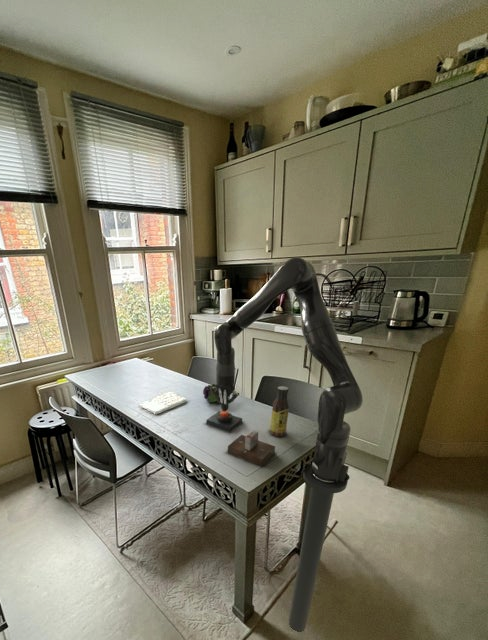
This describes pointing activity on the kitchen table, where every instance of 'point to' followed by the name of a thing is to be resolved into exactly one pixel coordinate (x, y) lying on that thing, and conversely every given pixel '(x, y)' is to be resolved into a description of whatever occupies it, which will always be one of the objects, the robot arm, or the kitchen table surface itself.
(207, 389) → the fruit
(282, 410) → the sauce bottle
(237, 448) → the base
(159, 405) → the calculator
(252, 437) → the tap lever
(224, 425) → the push button box
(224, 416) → the button
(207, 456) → the kitchen table surface
